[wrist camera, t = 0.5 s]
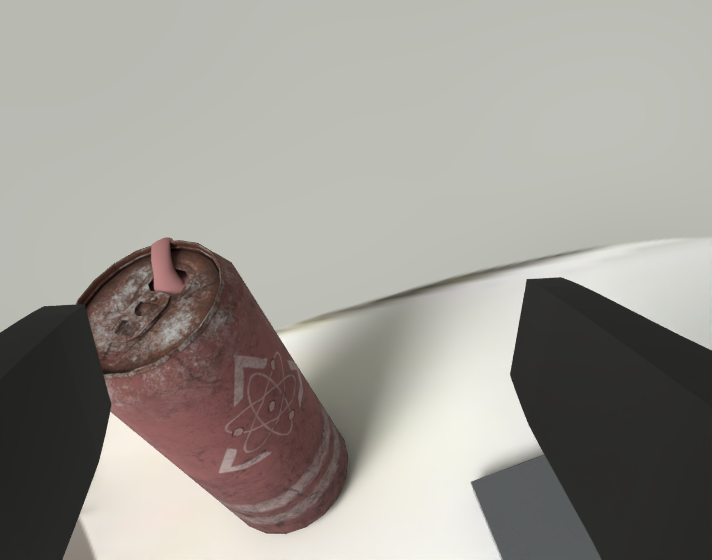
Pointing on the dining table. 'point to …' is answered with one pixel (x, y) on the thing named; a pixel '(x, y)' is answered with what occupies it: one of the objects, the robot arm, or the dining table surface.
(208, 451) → the can
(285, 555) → the dining table surface
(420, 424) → the dining table surface
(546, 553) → the stand
